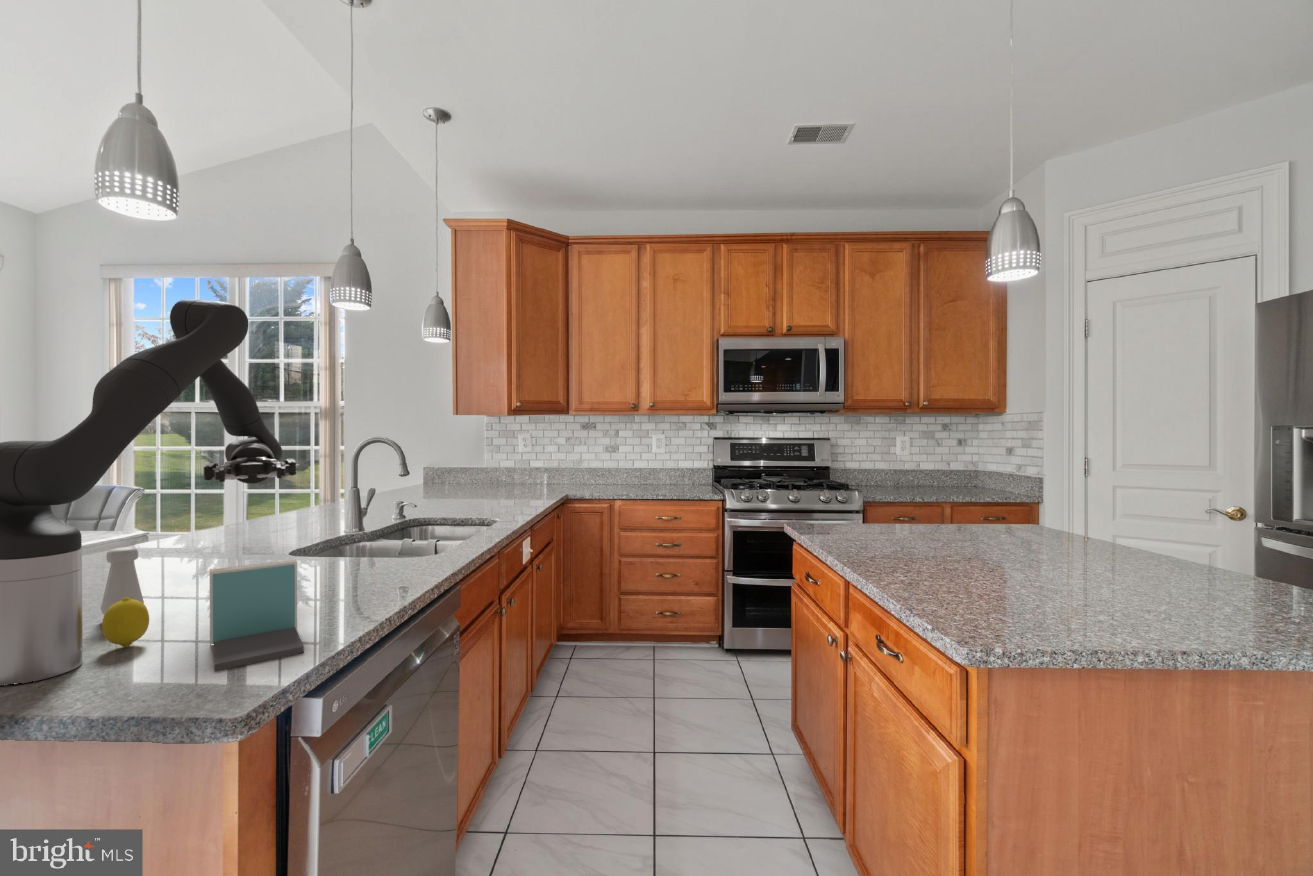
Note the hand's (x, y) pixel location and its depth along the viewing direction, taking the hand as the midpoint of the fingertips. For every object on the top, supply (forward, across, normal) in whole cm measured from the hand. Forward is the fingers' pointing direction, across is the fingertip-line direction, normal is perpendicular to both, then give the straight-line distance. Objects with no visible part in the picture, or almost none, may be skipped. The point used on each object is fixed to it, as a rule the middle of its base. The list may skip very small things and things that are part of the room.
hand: (251, 474), depth 103 cm
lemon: (+6, -17, +26) cm, 32 cm away
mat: (+20, 0, +25) cm, 32 cm away
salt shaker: (-12, -20, +28) cm, 36 cm away
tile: (+12, 0, +26) cm, 29 cm away
